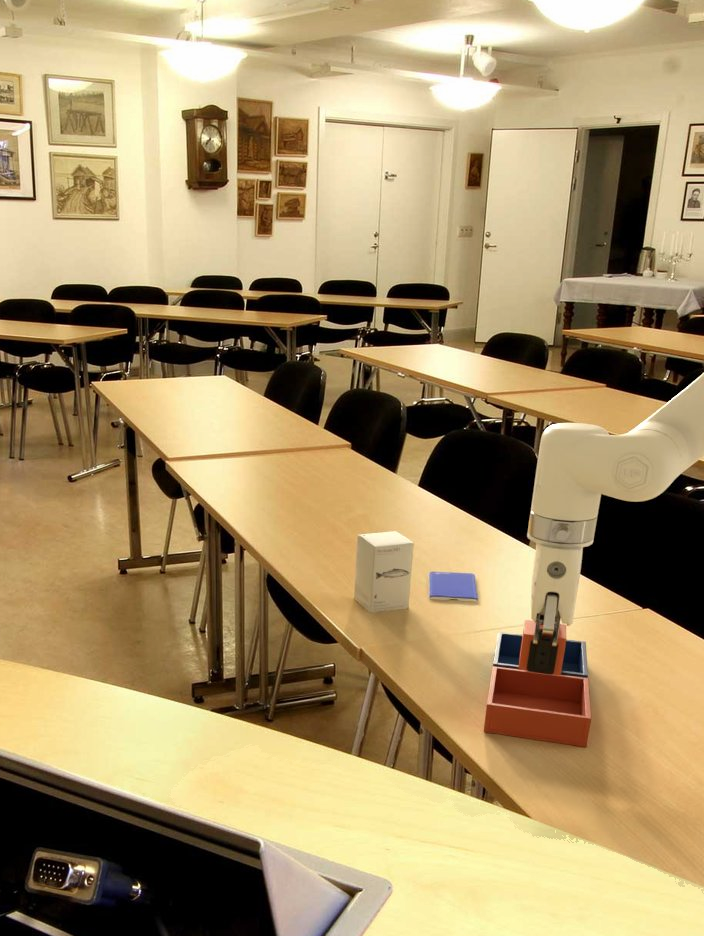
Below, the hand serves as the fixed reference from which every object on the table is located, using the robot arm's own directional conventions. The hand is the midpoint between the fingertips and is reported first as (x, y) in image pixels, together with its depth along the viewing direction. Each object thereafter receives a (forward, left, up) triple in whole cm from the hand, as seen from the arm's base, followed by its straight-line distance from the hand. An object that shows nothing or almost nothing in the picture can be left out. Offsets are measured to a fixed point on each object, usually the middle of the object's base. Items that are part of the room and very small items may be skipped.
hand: (540, 661), depth 117 cm
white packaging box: (+26, -34, -8) cm, 44 cm away
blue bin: (0, -13, -8) cm, 15 cm away
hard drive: (+15, -45, -8) cm, 48 cm away
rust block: (0, 0, 0) cm, 0 cm away
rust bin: (0, 0, -8) cm, 8 cm away
